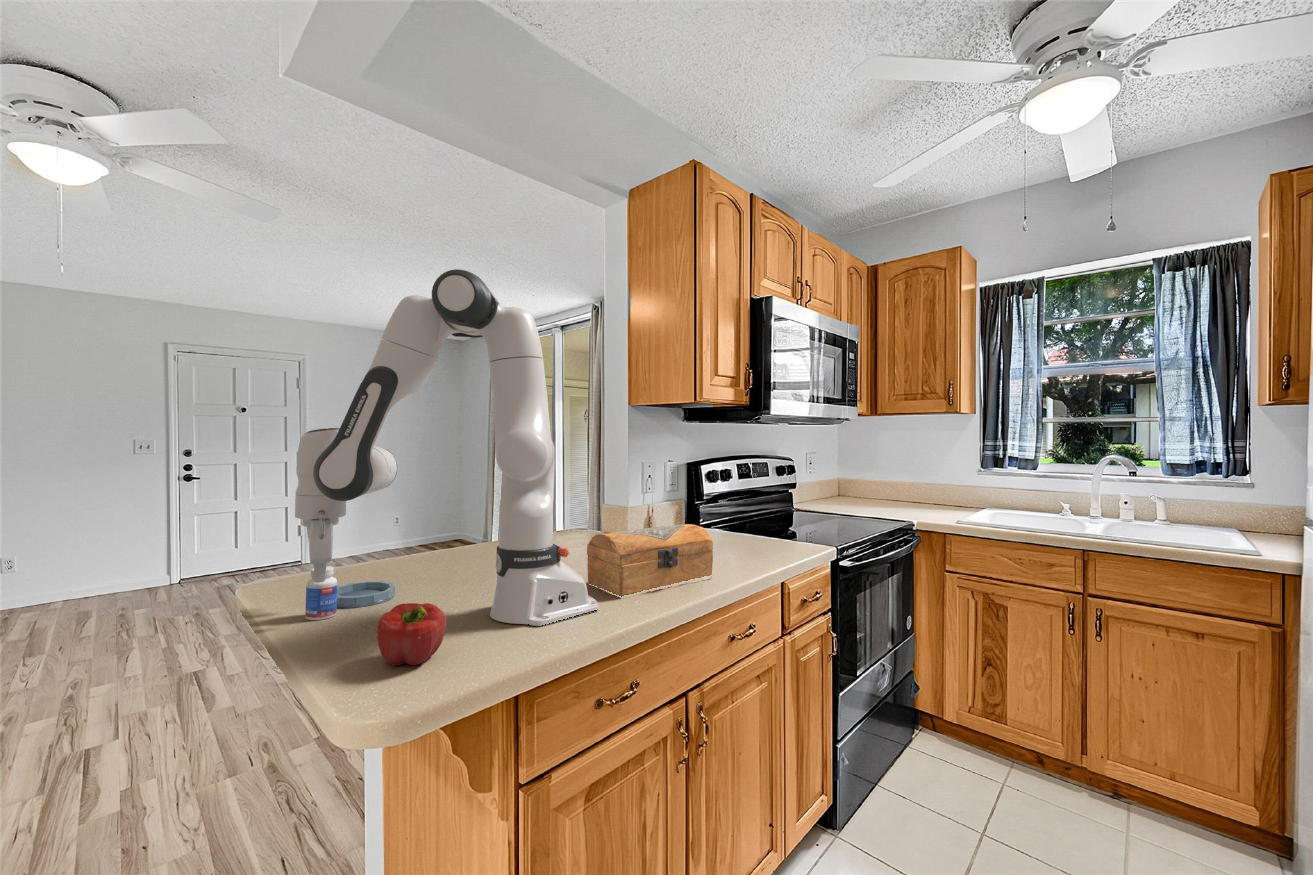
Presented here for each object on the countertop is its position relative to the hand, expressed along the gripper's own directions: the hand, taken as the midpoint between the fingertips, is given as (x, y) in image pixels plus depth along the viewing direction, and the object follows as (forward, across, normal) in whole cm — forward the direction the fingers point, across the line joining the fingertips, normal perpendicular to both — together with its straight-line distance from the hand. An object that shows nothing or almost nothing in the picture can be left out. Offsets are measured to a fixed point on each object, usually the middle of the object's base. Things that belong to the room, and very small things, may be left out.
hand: (318, 576), depth 110 cm
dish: (+8, +9, -9) cm, 15 cm away
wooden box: (+7, -13, -73) cm, 74 cm away
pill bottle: (+8, 0, -1) cm, 8 cm away
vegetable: (+8, -33, -13) cm, 36 cm away
